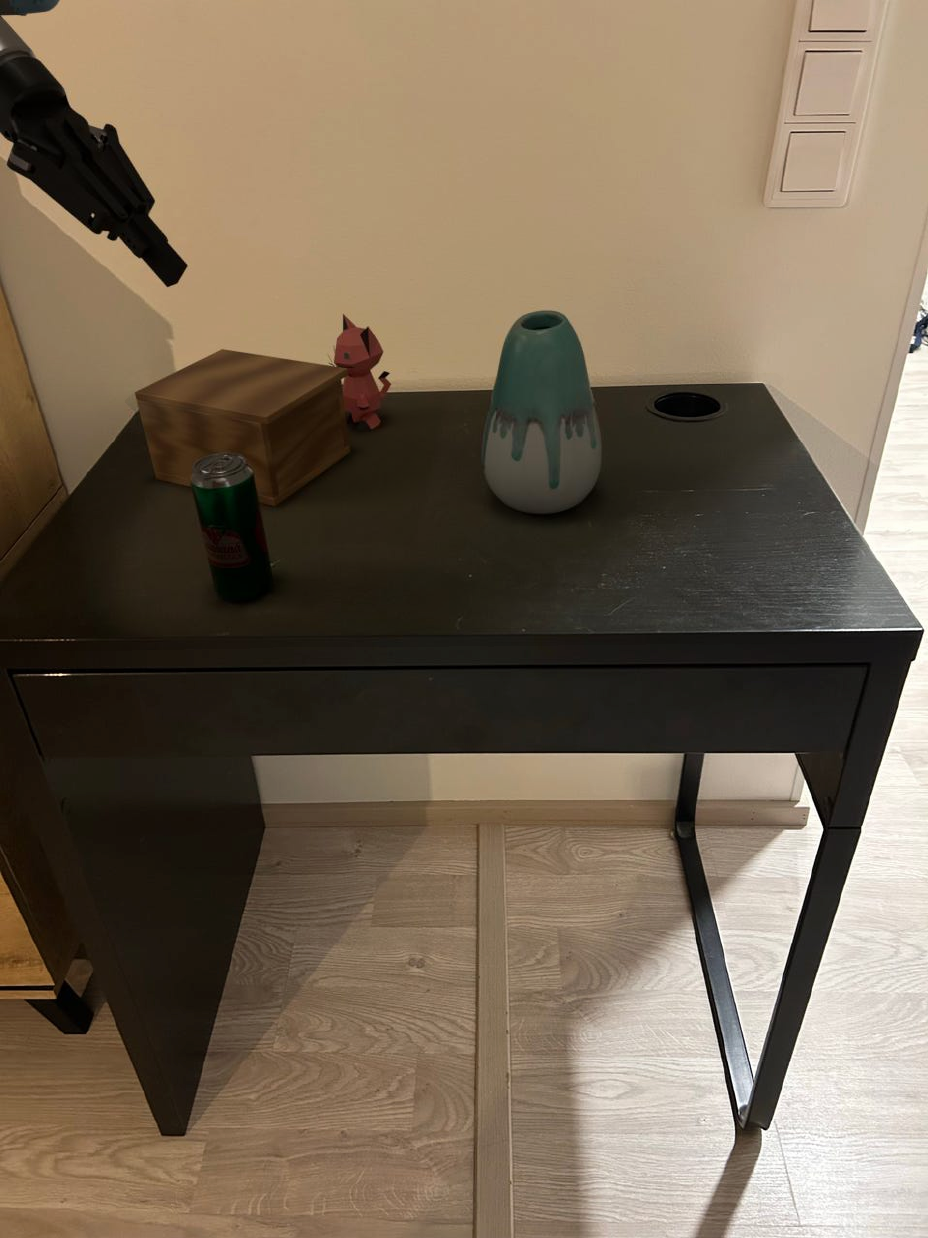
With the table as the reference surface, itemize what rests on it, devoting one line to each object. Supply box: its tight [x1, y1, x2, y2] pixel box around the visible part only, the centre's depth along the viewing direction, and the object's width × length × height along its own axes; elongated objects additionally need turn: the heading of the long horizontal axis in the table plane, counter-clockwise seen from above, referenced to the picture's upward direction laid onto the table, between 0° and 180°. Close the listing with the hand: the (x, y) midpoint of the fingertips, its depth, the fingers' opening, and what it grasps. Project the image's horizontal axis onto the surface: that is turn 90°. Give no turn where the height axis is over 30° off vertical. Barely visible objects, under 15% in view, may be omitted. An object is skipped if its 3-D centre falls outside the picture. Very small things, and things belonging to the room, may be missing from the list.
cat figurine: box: [327, 313, 392, 432], centre depth 109 cm, size 7×7×12 cm
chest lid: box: [134, 348, 348, 424], centre depth 98 cm, size 17×14×1 cm
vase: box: [481, 309, 603, 515], centre depth 89 cm, size 12×12×18 cm
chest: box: [136, 379, 351, 507], centre depth 101 cm, size 16×14×9 cm
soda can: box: [190, 452, 274, 603], centre depth 80 cm, size 5×5×12 cm
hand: (177, 276), depth 95 cm, fingers closed
